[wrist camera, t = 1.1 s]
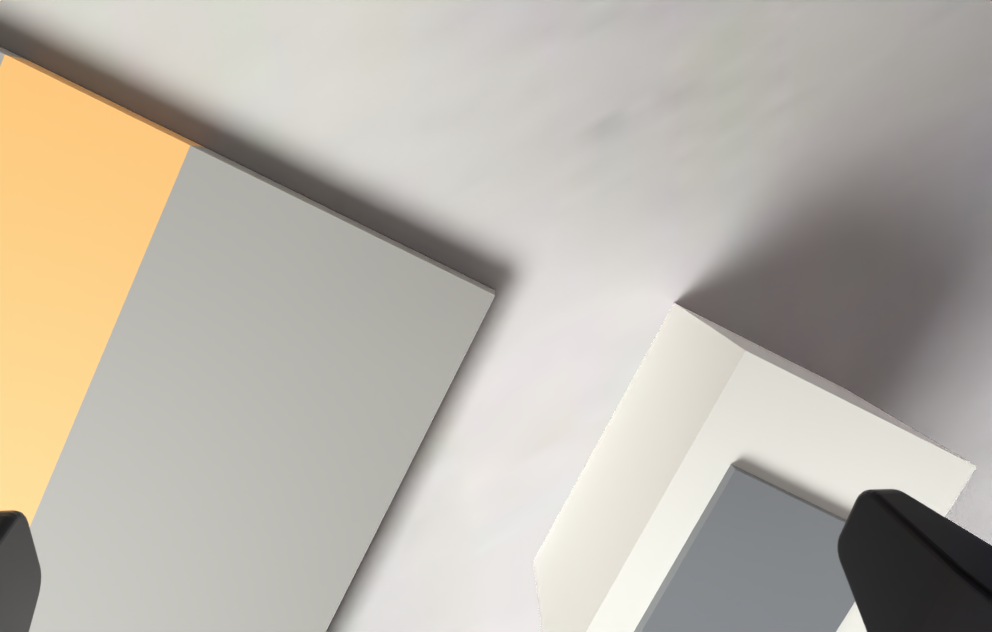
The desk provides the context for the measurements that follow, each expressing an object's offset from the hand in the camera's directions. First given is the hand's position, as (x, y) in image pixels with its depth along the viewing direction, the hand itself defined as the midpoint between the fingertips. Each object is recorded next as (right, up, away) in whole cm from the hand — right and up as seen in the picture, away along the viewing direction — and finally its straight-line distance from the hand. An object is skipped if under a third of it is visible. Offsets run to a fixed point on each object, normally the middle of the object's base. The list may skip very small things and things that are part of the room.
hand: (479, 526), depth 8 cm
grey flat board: (-10, -3, +10) cm, 14 cm away
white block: (+5, -1, +10) cm, 11 cm away
